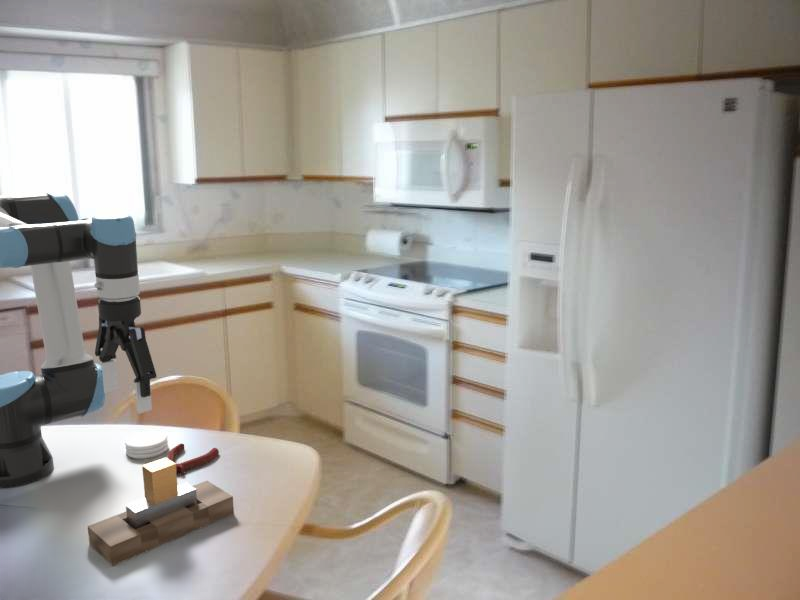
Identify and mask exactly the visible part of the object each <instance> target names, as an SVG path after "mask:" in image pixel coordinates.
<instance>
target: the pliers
mask: <svg viewBox="0 0 800 600" xmlns="http://www.w3.org/2000/svg"><path fill="white" fill-rule="evenodd" d="M184 451H185V444H184V443H178V444H177V445H176V446H175V447H173V448H171V450H170V451H169V453H168V456H167V459H169V460H171V461H172V462H174V463H175V458H176V457H177V456H178V455H180V454H181V453H182V452H184ZM219 454H220V452H219V449H218V448H217V447H213V448H212V449H211V450H209V451H208V452H207V453H204V454H203V455H200V456H197V457H194V458H192V459H189V460H186V461H183V462H180V463H179V462H178V463H175V464H176V473H177V476H178V475H181V476H185V472H188V471H191V470H194V469H196V468H199V467H202V466H205V465H207V464H209V463H211V462H213V461H214V460H215V459H216V458H217V457H218V456H219Z"/></svg>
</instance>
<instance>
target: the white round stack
mask: <svg viewBox="0 0 800 600" xmlns="http://www.w3.org/2000/svg"><path fill="white" fill-rule="evenodd" d="M168 441H169V440H168V436H167V434H166V433H164V432H162V431H158V430H146V431H141V432H136V433H134V434H132V435H131V436H130V435H129V436H128V438H127V439H125V443H124V445H125V450H126V451H125V453H126V455H127V457H130V458H132V459H135V460H136V459H137V460H145V459H151V458H156V457H158V456H161V455H163V454H164V453H166V452H167V450H168V449H169V444H168V443H169V442H168Z"/></svg>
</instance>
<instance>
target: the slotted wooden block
mask: <svg viewBox="0 0 800 600" xmlns="http://www.w3.org/2000/svg"><path fill="white" fill-rule="evenodd" d="M191 486H192V487H194V488H195V489H196V493H197V505H195V506H192V507H190V508H186V507H185V508H182V509H180V510H177V511H175V512H172V513H170V514H167V515H165V516H162V517H160V518H157V519H155V520H152V521H150V522H147V525H145V526H143V527H140V528H138V529H134V528H132V527H131V526H130V525H129V524H128V523H127V513H126V511H124V512H120V513H119V514H115V515H113V516H111V517H108V518H106V519H103V520H100V521H98V522H95V523H93V524H90V525H87V532H88V543H89V545H90V547H91V548H92V549H94V550H95V551H96V552H97V553H98V554H99V555H100V556H101V557H102V558H103V559H104V560H106V561H107V562H108V564H110V565H111V566H112V567H113V566H116V565H118V564H120V563H123V562H125V561H127V560H131V559H132V558H134V557H137V556H139V555H141V554H143V553H147V552H148V551H151V550H153V549H155V548H158V547H160V546H162V545H165V544H167V543H169V542H172V541H174V540H177V539H178V538H181V537H183V536H185V535H189V534H190V533H193V532H195V531H198V530H200V529H202V528H204V527H207V526H209V525H211V524H213V523H216V522H218V521H220V520H223V519H225V518H228V517H230V516H232V515H234V514H235V511H234V510H235V509H234V497H233V495H232V494H230V493H228V492H227V491H225V490H223V488H220V487H219V486H217V485H215V484H213V483H212V482H210V481H208V480H205V481H202V482H200V483H197V484H194V485H191Z"/></svg>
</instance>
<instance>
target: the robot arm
mask: <svg viewBox="0 0 800 600" xmlns="http://www.w3.org/2000/svg"><path fill="white" fill-rule="evenodd" d="M135 227H136V226H135V221H134V218H133V217H132V216H131V215H129V214H121V213H108V214H107V213H106V214H105V213H104V214H98V215H95V216H94V217H89V216H88V217H82V218H79V216H78V212H77V210H76V207H75V205H74V203H73V201H72V200H71V199H70V197H69V196H68V195H67V194H65V193H63V192H59V191H39V192H38V191H37V192H25V193H23V192H22V193H8V194H7V193H6V194H5V193H4V194H0V269H7V268H8V269H9V268H12V269H13V268H14V269H18V268H21V267H28V266H30V271H31V276H32V282H33V288H34V294H35V301H36V306H37V311H38V317H39V323H40V328H41V329H40V330H41V334H42V336H41V337H42V341H43V346H44V352H45V361H44V362H43V363H42V364H41V365H40V371H41V374H40V375H35V374H34V373H33V372H32V371H30V370H21V371H17V370H16V371H10V372H7V373H3V374H0V488H1V489H3V488H4V489H6V488H15V487H20V486H24V485H29V484H32V483H34V482H36V481H39V480H41V479H43V478H45V477H47V476H48V475H49V474H50V473H51V472H52V471H53V470H54V468H55V467H54V466H55V464H54V457H53V455H52V454H51V451H50V449H49V448H48V445H47V444H46V442H45V440H44V438H43V436H42V426H46V425H48V424H49V425H51V424H54V423H58V422H61V421H65V420H69V419H74V418H78V417H81V418H83V417H85V416H87V415H90V414H94V413H97V412H99V411H100V410H101V409H102V408H103V407H104V405H105V402H106V398H107V394H112V393H114V392H118V391H119V379H118V377H119V375H118V363H117V360H116V359H117V355H116V353H117V351H118V349H119V347H120V349H121V350H122V351H124V352H125V354H126V356H127V359H128V362H129V363H130V364H129V365H130V366H131V368H132V371H133V374H134V375H135V378H134V379H133V384H134V393H135V405H136V406H135V407H136V413H137V414H142V413H146V412H149V411H152V410H153V406H152V405H153V404H152V392H151V380H153V379H156V378H157V372H156V369H155V365H154V362H153V359H152V355H151V352H150V349H149V345H148V343H147V342H148V341H147V338H146V337H147V336H146V331H145V328H144V326H140V327H136V322H135V321H136V319H137V318H139V317H140V316H142V315H141V314H142V306H141V298H140V297H139V295H140V292H141V291H140V277H139V270H138V253H137V252H138V251H137V232H136V228H135ZM91 259H93V262H94V273H95V280H96V283H94V288H95V289H96V293H97V296H98V298H99V299H98V300H97V309H98V330H97V337H96V344H95V350H94V354H95V355H94V356H96V357H98V358H99V361H100V362H101V364H99V363H95V361H94V357H93V356H91V355H90V354H88V353H87V352H86V349H85V342H84V337H83V332H82V324H81V319H80V313H79V312H80V311H79V307H78V303H77V302H78V301H77V300H78V299H77V295H76V290H75V284H74V283H75V282H74V277H73V272H72V266H71V262H73V261H83V260H91Z"/></svg>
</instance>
